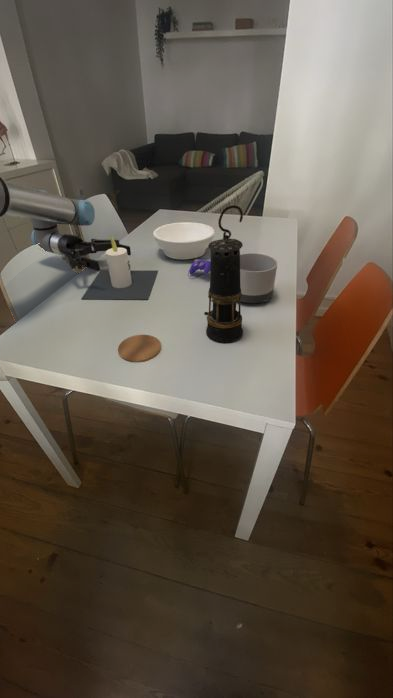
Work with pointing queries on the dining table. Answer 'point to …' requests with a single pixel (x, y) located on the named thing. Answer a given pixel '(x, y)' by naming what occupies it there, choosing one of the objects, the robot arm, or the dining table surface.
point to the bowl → (184, 239)
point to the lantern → (225, 288)
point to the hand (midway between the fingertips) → (114, 258)
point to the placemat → (136, 291)
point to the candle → (118, 266)
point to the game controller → (200, 266)
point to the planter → (257, 277)
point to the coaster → (139, 348)
